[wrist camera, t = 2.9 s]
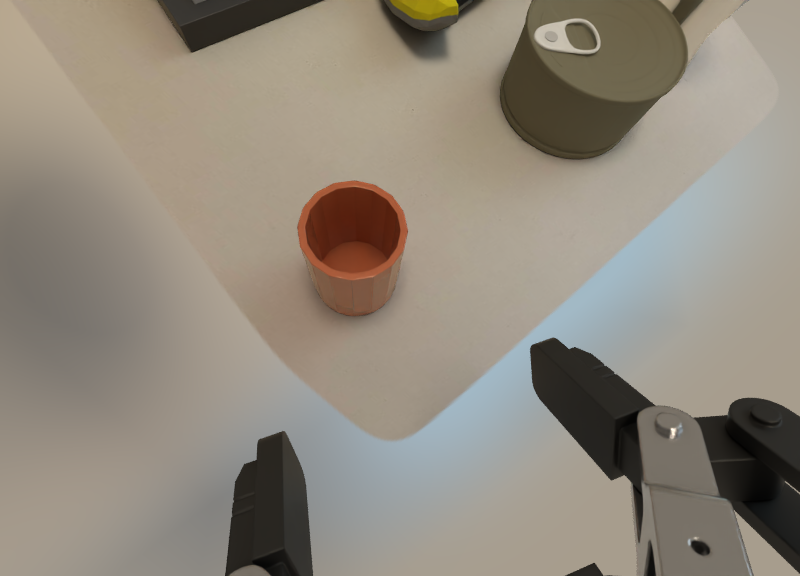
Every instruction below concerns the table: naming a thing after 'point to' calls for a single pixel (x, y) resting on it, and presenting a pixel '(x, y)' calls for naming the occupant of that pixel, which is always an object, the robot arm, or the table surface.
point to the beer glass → (701, 18)
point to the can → (590, 72)
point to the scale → (223, 17)
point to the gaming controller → (427, 12)
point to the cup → (353, 245)
